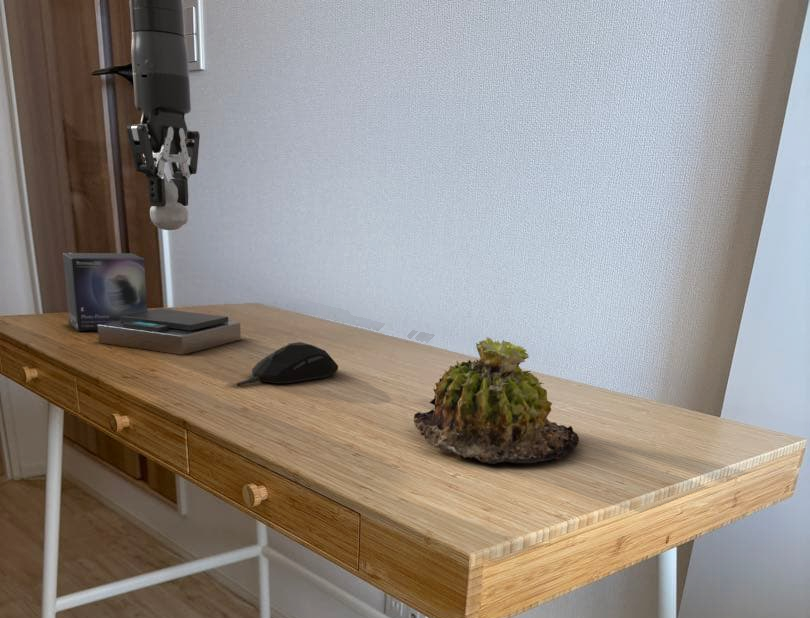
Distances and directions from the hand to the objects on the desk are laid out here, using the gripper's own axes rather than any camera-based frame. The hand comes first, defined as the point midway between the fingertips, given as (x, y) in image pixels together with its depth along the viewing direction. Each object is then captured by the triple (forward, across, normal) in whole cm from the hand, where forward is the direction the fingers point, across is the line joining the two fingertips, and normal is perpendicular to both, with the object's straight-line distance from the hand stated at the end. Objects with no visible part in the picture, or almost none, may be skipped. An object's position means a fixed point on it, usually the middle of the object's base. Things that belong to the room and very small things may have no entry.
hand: (169, 205), depth 121 cm
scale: (+18, +9, +6) cm, 21 cm away
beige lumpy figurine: (+4, 0, 0) cm, 4 cm away
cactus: (+18, +33, +60) cm, 71 cm away
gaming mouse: (+18, +20, +30) cm, 41 cm away
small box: (+18, +5, -8) cm, 20 cm away
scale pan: (+15, +8, +6) cm, 18 cm away
